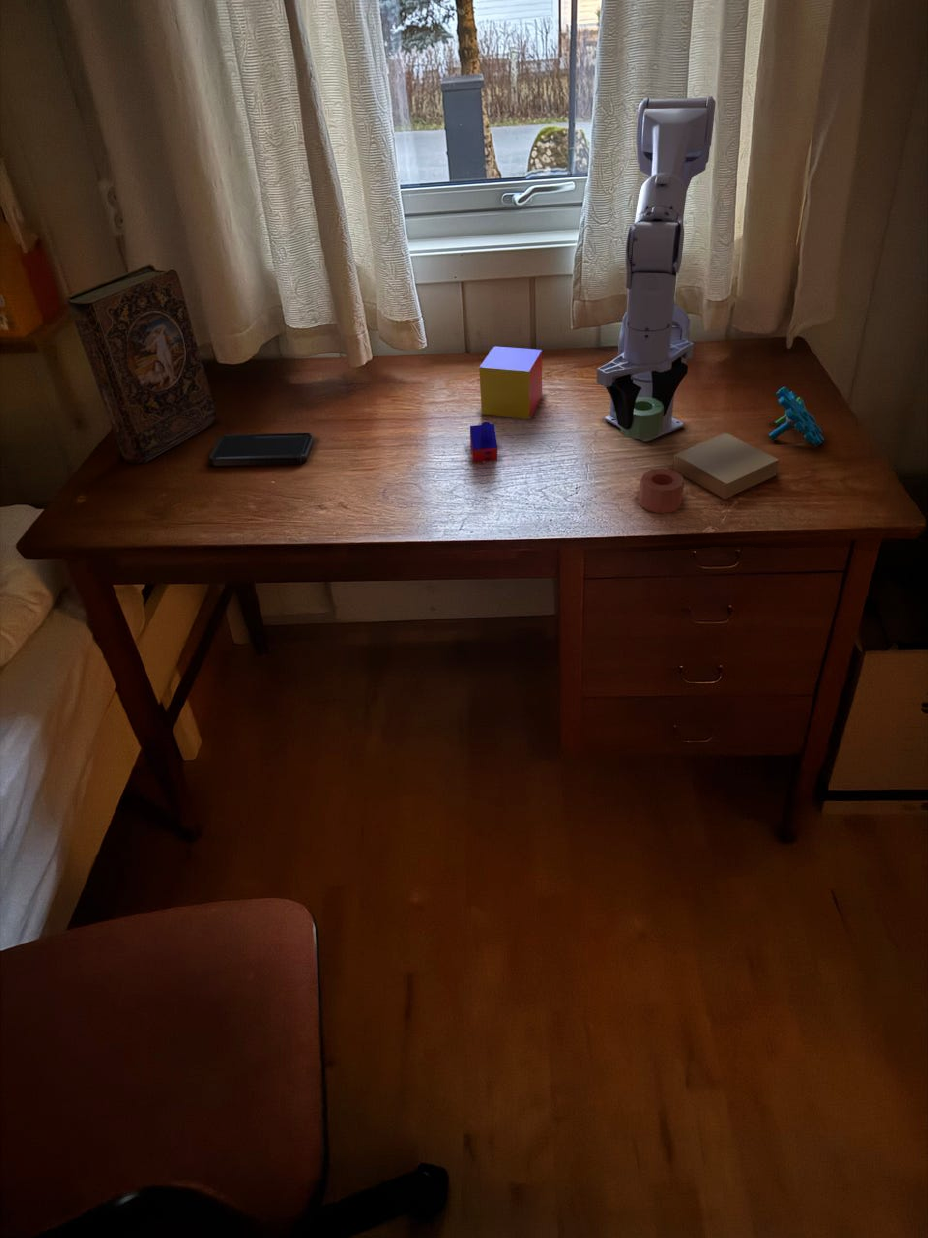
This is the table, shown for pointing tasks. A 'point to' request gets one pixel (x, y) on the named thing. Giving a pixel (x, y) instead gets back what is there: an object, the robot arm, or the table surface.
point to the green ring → (646, 419)
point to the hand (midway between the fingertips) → (641, 419)
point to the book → (144, 360)
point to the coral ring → (661, 490)
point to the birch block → (725, 465)
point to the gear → (796, 418)
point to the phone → (262, 449)
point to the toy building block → (483, 442)
